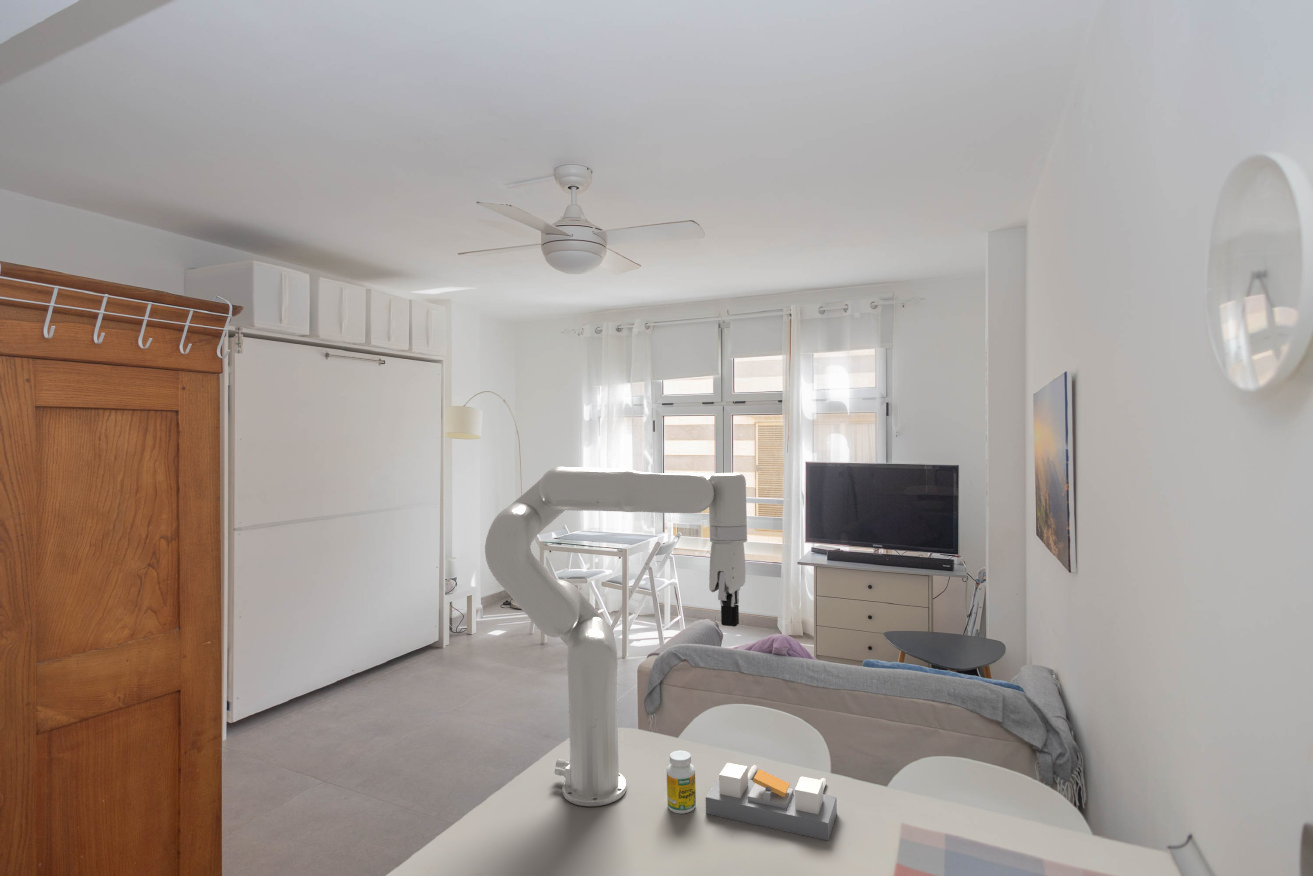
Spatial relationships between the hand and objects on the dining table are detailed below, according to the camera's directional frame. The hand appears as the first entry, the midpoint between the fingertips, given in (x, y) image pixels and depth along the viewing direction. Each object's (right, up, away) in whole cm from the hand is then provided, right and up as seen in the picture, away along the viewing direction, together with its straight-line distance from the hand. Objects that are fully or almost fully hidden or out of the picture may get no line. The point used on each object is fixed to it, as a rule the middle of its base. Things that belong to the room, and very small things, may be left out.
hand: (730, 624), depth 132 cm
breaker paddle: (+6, -26, -13) cm, 29 cm away
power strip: (+8, -31, -8) cm, 33 cm away
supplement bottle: (-10, -31, -10) cm, 34 cm away
